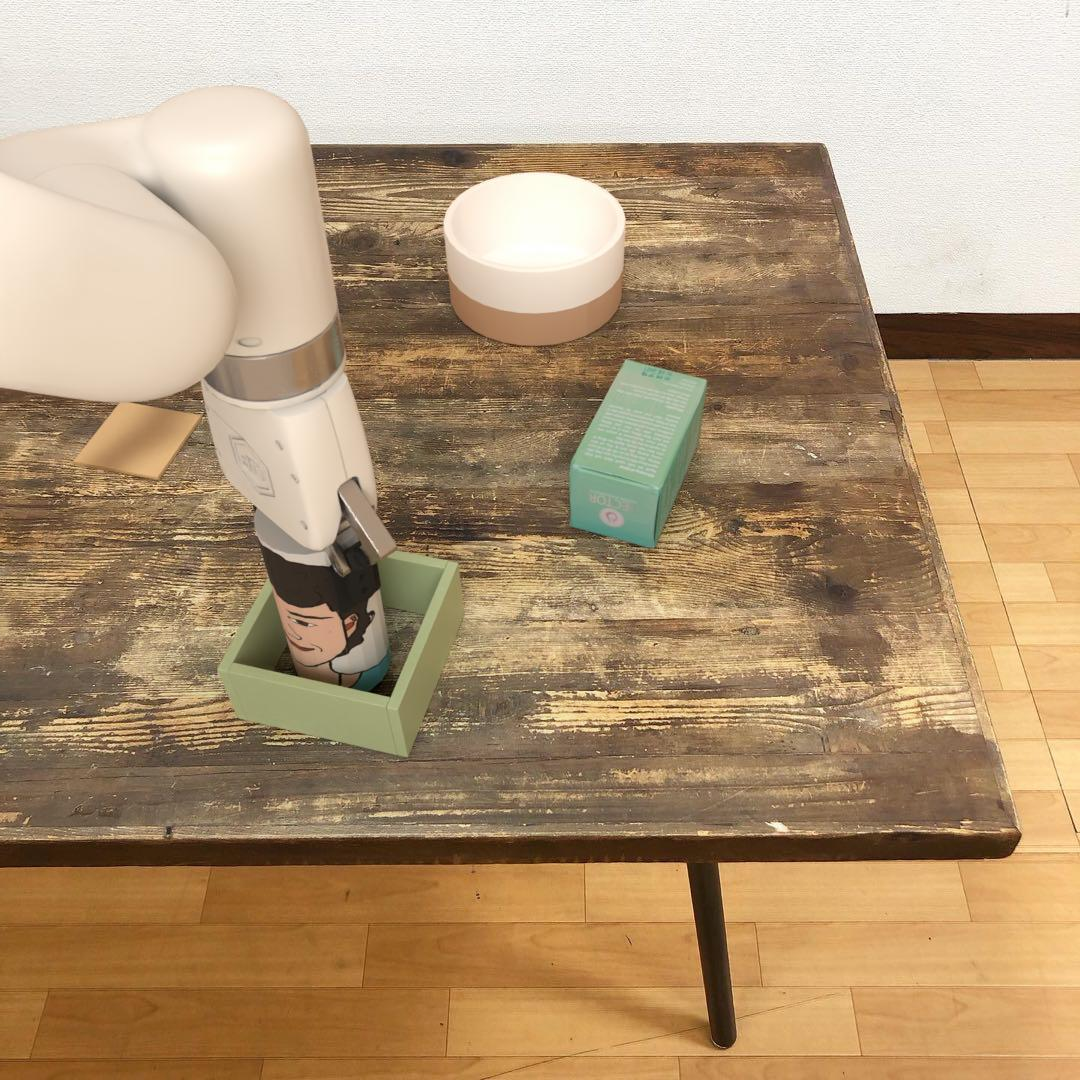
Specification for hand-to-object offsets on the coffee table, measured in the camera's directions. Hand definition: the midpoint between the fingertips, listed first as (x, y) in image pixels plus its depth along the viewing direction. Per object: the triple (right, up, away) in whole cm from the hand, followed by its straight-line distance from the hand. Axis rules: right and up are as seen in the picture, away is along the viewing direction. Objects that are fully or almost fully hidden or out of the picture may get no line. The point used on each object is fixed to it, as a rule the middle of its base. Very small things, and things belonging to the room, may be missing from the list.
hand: (322, 565), depth 68 cm
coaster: (-21, +10, +25) cm, 34 cm away
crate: (+1, -7, +9) cm, 12 cm away
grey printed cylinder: (0, -7, +8) cm, 10 cm away
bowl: (+14, +26, +38) cm, 48 cm away
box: (+22, +6, +20) cm, 31 cm away
